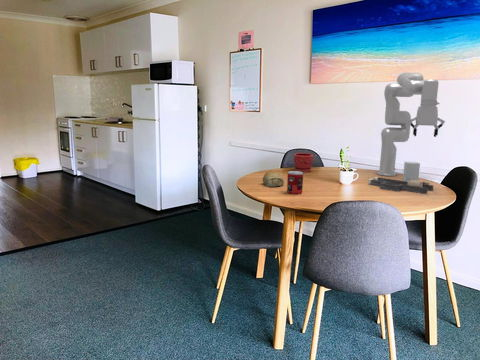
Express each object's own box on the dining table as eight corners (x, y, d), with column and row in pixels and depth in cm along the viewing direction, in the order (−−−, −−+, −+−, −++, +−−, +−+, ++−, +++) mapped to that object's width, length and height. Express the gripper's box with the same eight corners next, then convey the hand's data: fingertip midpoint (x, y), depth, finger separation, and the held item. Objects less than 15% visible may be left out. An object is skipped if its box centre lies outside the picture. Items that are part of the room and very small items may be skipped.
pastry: (268, 181, 224) (269, 168, 222) (287, 184, 217) (288, 170, 216) (257, 185, 212) (257, 172, 210) (277, 188, 206) (278, 174, 204)
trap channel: (380, 180, 232) (380, 175, 231) (436, 189, 210) (436, 184, 209) (364, 185, 216) (364, 180, 215) (422, 195, 194) (423, 190, 194)
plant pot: (291, 169, 266) (292, 152, 264) (309, 169, 268) (310, 152, 265) (295, 172, 253) (296, 155, 251) (314, 172, 255) (315, 155, 252)
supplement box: (418, 184, 223) (420, 163, 220) (404, 183, 224) (407, 162, 222) (414, 181, 230) (417, 161, 227) (402, 181, 231) (404, 161, 229)
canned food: (286, 190, 200) (287, 170, 198) (301, 191, 200) (302, 171, 198) (287, 194, 193) (288, 173, 190) (303, 194, 192) (304, 173, 190)
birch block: (410, 188, 212) (411, 179, 211) (421, 190, 208) (422, 181, 207) (406, 190, 207) (407, 181, 206) (418, 192, 203) (419, 183, 202)
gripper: (445, 104, 198) (441, 136, 201) (409, 103, 203) (406, 135, 206) (448, 103, 191) (444, 137, 194) (411, 103, 196) (408, 136, 199)
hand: (424, 136), depth 200 cm, fingers open, 9 cm apart
